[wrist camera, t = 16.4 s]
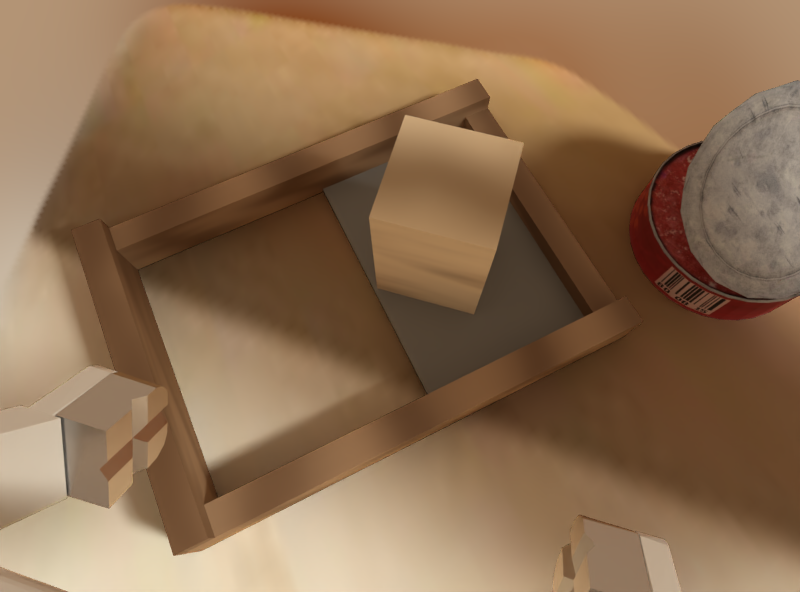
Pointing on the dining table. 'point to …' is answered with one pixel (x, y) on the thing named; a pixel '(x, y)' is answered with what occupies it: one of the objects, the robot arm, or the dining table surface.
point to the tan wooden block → (441, 212)
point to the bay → (411, 318)
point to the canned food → (728, 213)
